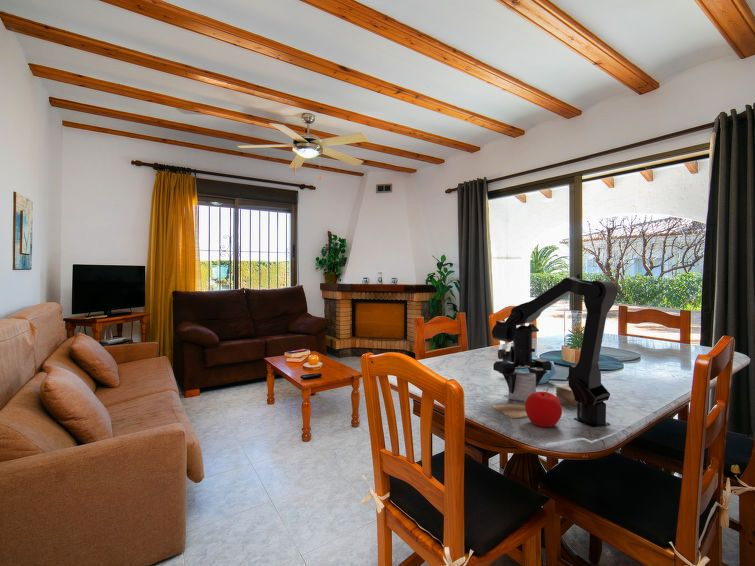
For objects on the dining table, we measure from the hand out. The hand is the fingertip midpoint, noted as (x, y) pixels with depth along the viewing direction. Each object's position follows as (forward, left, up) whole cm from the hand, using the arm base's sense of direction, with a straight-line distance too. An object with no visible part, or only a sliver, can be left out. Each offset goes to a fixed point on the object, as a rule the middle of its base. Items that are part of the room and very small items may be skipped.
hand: (522, 392), depth 120 cm
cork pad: (-8, +9, -3) cm, 12 cm away
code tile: (0, 0, -3) cm, 3 cm away
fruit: (-19, +8, -3) cm, 21 cm away
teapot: (+18, -18, -3) cm, 26 cm away
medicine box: (0, 0, -3) cm, 3 cm away
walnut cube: (-7, -12, -2) cm, 14 cm away
